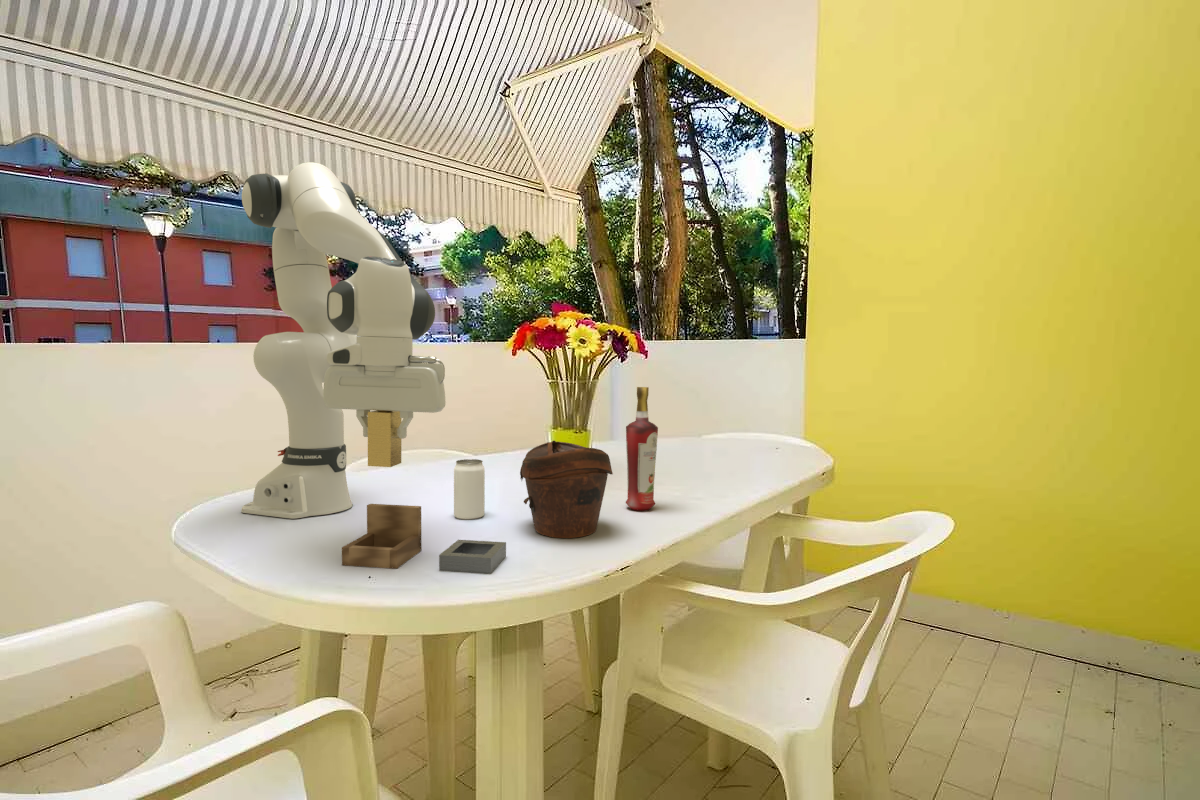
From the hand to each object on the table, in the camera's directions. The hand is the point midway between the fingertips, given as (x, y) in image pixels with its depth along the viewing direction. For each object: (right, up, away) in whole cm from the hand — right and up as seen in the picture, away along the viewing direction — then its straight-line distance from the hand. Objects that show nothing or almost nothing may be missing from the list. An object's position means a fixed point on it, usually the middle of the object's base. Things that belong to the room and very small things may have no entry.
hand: (384, 437), depth 104 cm
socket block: (+15, -21, -1) cm, 26 cm away
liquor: (+46, -19, +38) cm, 63 cm away
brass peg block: (0, -5, 0) cm, 5 cm away
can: (+8, -19, +29) cm, 36 cm away
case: (+29, -20, +21) cm, 41 cm away
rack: (-1, -21, +1) cm, 21 cm away
